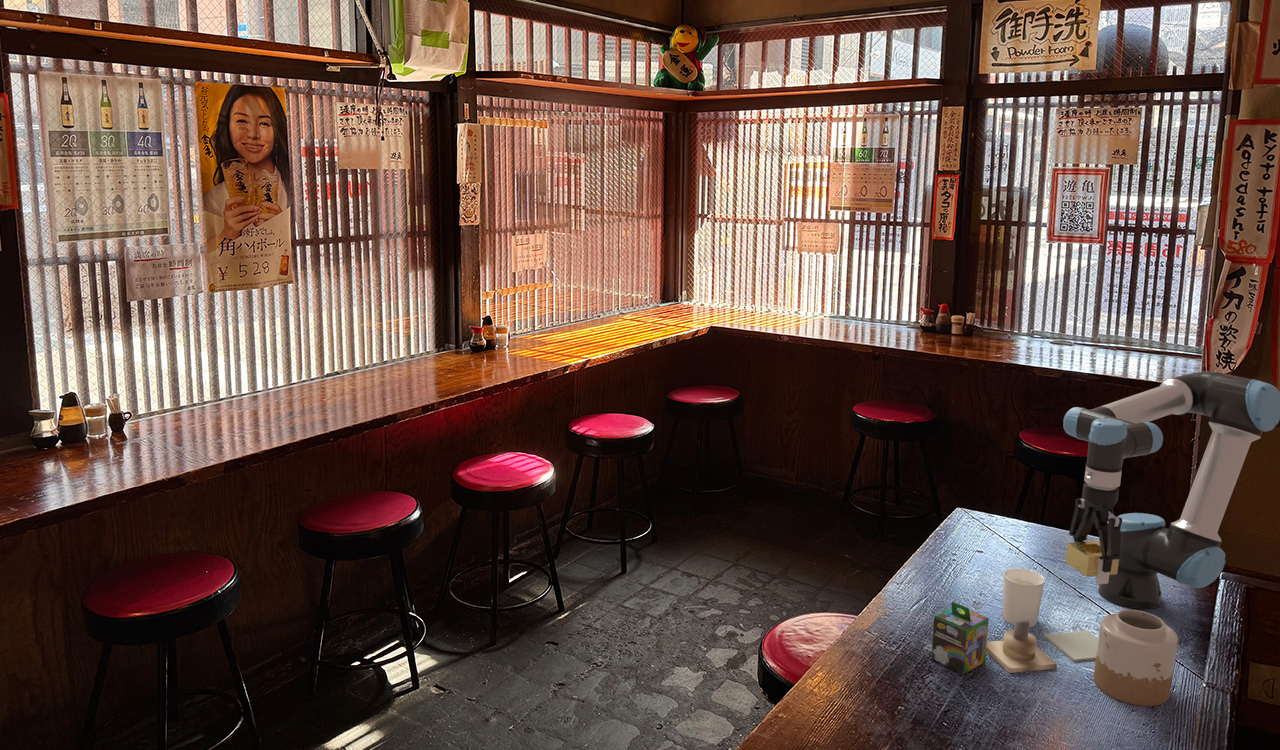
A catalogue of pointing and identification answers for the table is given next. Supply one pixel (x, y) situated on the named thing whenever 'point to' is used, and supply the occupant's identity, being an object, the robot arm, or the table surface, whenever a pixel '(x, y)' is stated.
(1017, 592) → the candle holder
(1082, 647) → the felt mat
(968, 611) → the chalk box
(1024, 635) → the stand
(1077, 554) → the square wooden frame
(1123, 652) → the vase
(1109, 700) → the table surface
